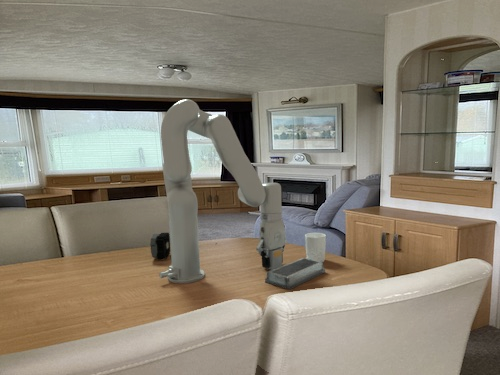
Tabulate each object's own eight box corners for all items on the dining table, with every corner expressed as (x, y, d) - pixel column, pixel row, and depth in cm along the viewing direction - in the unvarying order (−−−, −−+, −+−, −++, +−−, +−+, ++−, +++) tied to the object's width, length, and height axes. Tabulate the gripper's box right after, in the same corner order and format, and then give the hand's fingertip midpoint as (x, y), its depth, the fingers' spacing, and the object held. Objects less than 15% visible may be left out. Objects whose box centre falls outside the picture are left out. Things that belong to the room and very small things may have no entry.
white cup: (325, 257, 142) (324, 232, 141) (327, 263, 134) (327, 237, 133) (304, 257, 143) (304, 232, 142) (305, 263, 135) (305, 237, 134)
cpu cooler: (158, 254, 154) (156, 230, 153) (171, 253, 154) (170, 230, 153) (150, 261, 144) (149, 236, 143) (164, 261, 143) (163, 236, 142)
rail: (289, 289, 111) (289, 278, 111) (265, 281, 118) (264, 271, 118) (325, 272, 125) (325, 262, 125) (301, 266, 132) (301, 257, 132)
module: (273, 270, 129) (273, 251, 129) (263, 267, 133) (262, 248, 132) (282, 266, 133) (282, 248, 132) (271, 263, 136) (271, 245, 136)
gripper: (262, 222, 122) (264, 273, 124) (294, 214, 134) (295, 261, 136) (247, 219, 127) (248, 268, 129) (278, 212, 140) (279, 257, 142)
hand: (272, 264), depth 133 cm, fingers open, 6 cm apart
